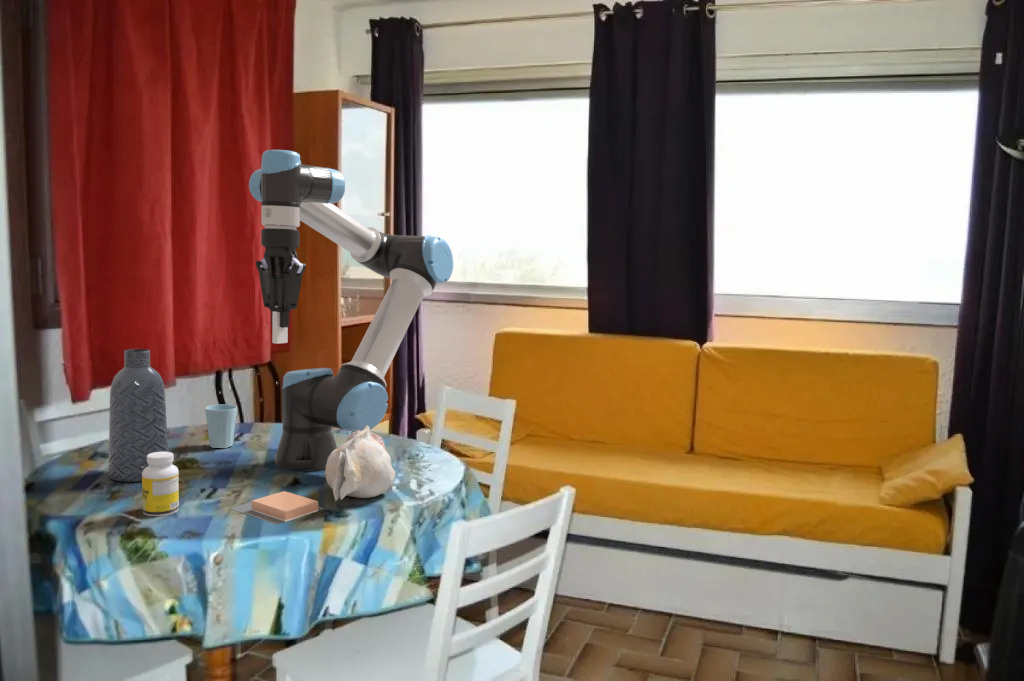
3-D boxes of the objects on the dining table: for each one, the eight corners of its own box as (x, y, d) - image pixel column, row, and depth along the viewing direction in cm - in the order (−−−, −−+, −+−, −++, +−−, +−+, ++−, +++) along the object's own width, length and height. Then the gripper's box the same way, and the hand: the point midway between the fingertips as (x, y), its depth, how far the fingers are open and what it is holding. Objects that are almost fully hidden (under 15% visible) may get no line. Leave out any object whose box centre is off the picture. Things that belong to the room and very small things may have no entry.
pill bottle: (149, 507, 154) (149, 450, 152) (183, 507, 154) (183, 450, 153) (137, 518, 147) (136, 458, 146) (172, 518, 148) (171, 459, 146)
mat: (229, 510, 153) (229, 508, 153) (278, 496, 163) (278, 494, 163) (276, 527, 146) (276, 524, 145) (325, 510, 155) (325, 508, 155)
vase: (100, 474, 174) (97, 349, 171) (155, 464, 183) (153, 345, 179) (121, 486, 166) (119, 355, 162) (178, 476, 174) (176, 351, 171)
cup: (240, 448, 200) (240, 408, 199) (209, 451, 196) (209, 411, 194) (232, 441, 206) (232, 403, 205) (202, 445, 202) (201, 405, 201)
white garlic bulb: (412, 495, 167) (413, 427, 166) (340, 515, 153) (341, 441, 151) (364, 479, 178) (365, 414, 176) (292, 497, 163) (293, 427, 161)
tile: (251, 500, 152) (285, 511, 147) (284, 491, 159) (318, 501, 153) (251, 510, 153) (285, 521, 147) (284, 500, 159) (318, 511, 154)
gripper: (244, 226, 159) (244, 341, 161) (287, 227, 151) (286, 347, 154) (274, 228, 165) (273, 338, 168) (316, 229, 158) (315, 344, 160)
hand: (280, 342), depth 161 cm, fingers closed
